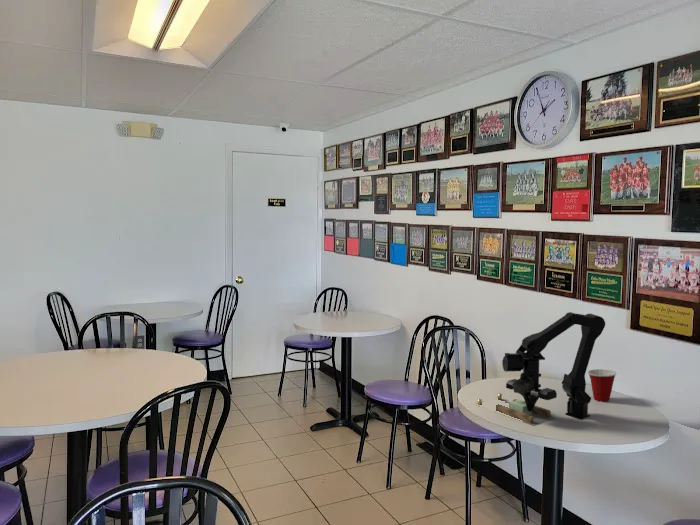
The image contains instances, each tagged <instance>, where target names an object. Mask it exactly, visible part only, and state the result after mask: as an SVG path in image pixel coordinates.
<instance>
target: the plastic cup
mask: <svg viewBox="0 0 700 525" xmlns="http://www.w3.org/2000/svg"><path fill="white" fill-rule="evenodd" d="M587 373H588V375H589V379H590V384H591V391H592V395H593V400H594V399H595V401H596V400H597V402H600V401H602V402H601V403H608V402H609V401H610V399H611V394H612V391H613V390H612V389H613V384H614V381H615V377H616V375H617V373H616V371H614V370H611V369H610V370H609V369H601V368H599V369H597V368H596V369H595V368H594V369H589V370H587ZM607 401H608V402H607Z"/></svg>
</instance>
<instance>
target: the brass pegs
mask: <svg viewBox="0 0 700 525" xmlns="http://www.w3.org/2000/svg"><path fill="white" fill-rule="evenodd" d="M497 398H498V400H503V393H499V392H498V393H497ZM482 402H483V399H481V398H477V404H478V405H482Z"/></svg>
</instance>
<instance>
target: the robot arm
mask: <svg viewBox="0 0 700 525" xmlns="http://www.w3.org/2000/svg"><path fill="white" fill-rule="evenodd" d="M574 325H579V326H580V330H581V338H580V342H579V346H578V349H577V352H576V356H575V358H574V362H573V365H572V368H571V370H570V372H569V373H568V374H567V373H564V374H563V380H562V382H561V385H562V387H561V388H562V390H563V392H565V394H566V396H567V397H568V401H567V402H566V404H567V405H566V412H565V415H567V416H569V417H572V418H576V419H578V420H584V419H586V418H589V417H590V414H589V413H588V412H589V404H590V403H591V401H592V397H591V396H590V395H589V394H588V393H587V391H586V387H587V386H586V385H587V384H586V372H587V371H588V370H587V369H588V366H589V362H590V359H591V355H592V353H593V349H594V346H595V343H596V340H597V339H598V338H599V337H600V335H602V333H603V331H604V329H605V327H606V321H605V319H604V318H603V317H602V316H599V315H597V314H593V313H586V314H582V313H575V312H572V311H569V312H567V313H565V314H564V316H562V317H560V318H559V319H558V320H556V321H555V322H553V323H551V324H550V325H549V326H547V327H545V328H544V329H543V330H542V331H539V332H536V333H532V334H530V335H528V336H525V337H524V338H523V339H522V340H521V344H520V345H519V347H518V348H517V349H516V351H515V352H514V353H510V352H506V353H505V352H504V356H503V358H502V360H501V363H502V369H503V371H504V372H521V371H522V372H521V373H520V376H519V378H518V379H516V378H513V379H509V380H507V381H506V383H505V388H506V389H508V390H511V391H512V390H513V392H514V394H515V393H516V394H519V395H521V396H522V397H523V399H524V400H523V401H525V402H526V405H527V408H528V411H529V412H531V411H532V410H533V408H534V406H536V404H537V402H538V401H539V399H542V400H545V401H549V400H553V399H557V397H558V396H557V391H556V390H555V389H552V388H548V387H545V388H541V387H542V384H540V377H541V376H542V373H540V361H543V360H544V361H545V360H546V357H545V356H543V354H542V351H543V350H545V348H546V347H547V346H548V344H549V343H550V342H551V341H552V340H554V339H555V338H557V337H558V336H560V335H561V334H562V333H564V332H566V331H567V330H568V329H570V328H571V327H573V326H574Z"/></svg>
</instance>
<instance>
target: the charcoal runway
mask: <svg viewBox="0 0 700 525" xmlns="http://www.w3.org/2000/svg"><path fill="white" fill-rule="evenodd" d="M503 400H504V401H505V403H509V402H510V401H508V400H505V399H503ZM530 415H531V416H533V423H531V424H530V423H528V422H525V421H523V422H522V423H525V424H526V425H530V426H533V427H535V426H537V425H541V424H543V423H546V422H547V423H548V422H550V421H553V420H555V419H557V417H556V416H553V415H550V417H545V416H542V415H539V414H536V413H533V412H532V414H530ZM519 422H521V421H520V420H519Z"/></svg>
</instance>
